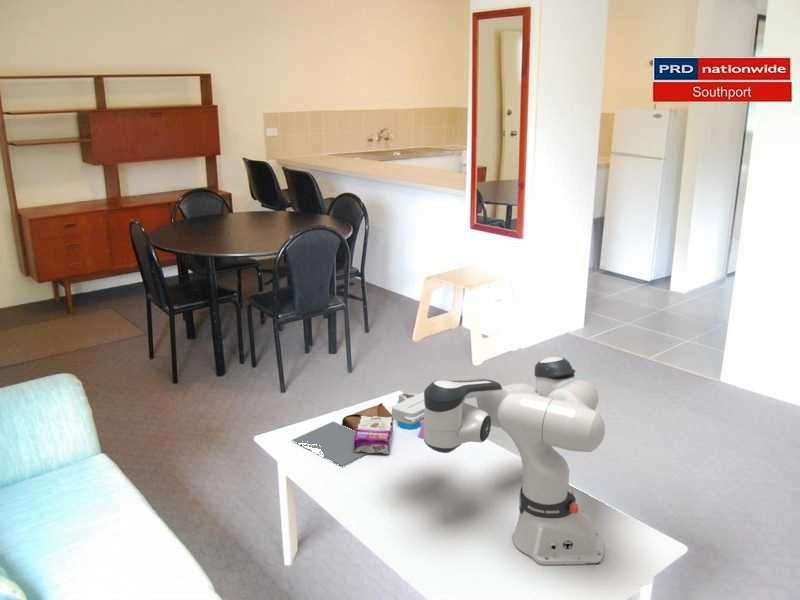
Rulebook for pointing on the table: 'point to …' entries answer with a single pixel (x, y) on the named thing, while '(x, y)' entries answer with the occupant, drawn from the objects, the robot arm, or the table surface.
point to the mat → (333, 443)
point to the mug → (408, 426)
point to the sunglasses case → (353, 419)
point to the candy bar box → (373, 435)
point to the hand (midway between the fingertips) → (401, 396)
